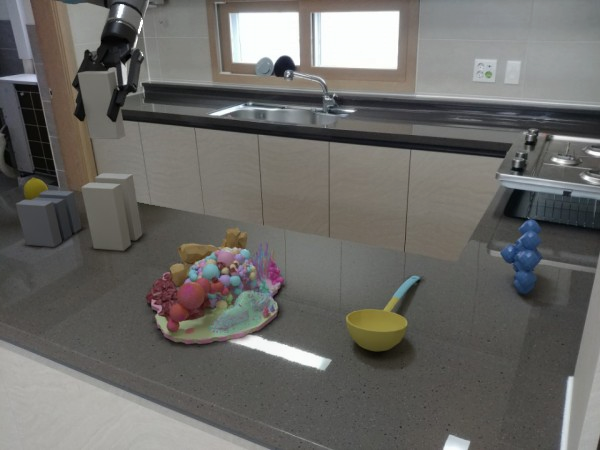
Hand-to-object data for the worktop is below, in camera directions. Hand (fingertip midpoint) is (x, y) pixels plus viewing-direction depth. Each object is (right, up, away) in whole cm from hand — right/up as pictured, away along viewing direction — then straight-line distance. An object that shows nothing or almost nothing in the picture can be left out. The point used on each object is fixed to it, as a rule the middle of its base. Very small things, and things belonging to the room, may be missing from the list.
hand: (94, 118), depth 114 cm
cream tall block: (+1, -3, +5) cm, 6 cm away
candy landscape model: (+30, -36, -21) cm, 51 cm away
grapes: (+81, -33, -21) cm, 90 cm away
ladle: (+59, -37, -28) cm, 75 cm away
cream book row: (+5, -26, +1) cm, 27 cm away
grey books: (-11, -25, +5) cm, 28 cm away
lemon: (-22, -19, +22) cm, 36 cm away
